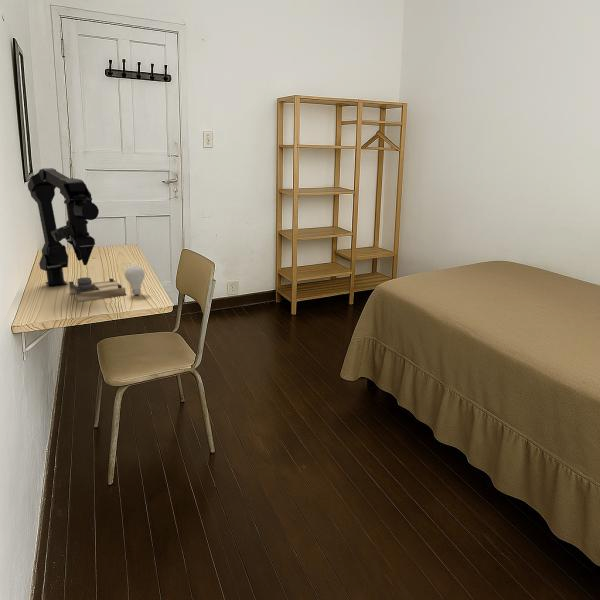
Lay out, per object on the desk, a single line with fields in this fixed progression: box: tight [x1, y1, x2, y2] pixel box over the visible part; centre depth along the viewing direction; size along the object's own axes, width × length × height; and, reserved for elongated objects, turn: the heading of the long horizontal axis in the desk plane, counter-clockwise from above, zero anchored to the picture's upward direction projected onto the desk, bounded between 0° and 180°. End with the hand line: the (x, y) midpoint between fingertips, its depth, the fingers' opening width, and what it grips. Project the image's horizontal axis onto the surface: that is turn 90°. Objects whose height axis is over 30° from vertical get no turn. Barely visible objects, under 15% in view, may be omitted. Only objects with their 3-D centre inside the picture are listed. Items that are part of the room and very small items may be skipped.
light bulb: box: [124, 264, 146, 296], centre depth 185 cm, size 7×7×11 cm
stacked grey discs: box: [76, 276, 93, 293], centre depth 186 cm, size 5×5×6 cm
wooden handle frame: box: [68, 278, 127, 303], centre depth 188 cm, size 14×16×4 cm
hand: (82, 262), depth 184 cm, fingers open, 9 cm apart
